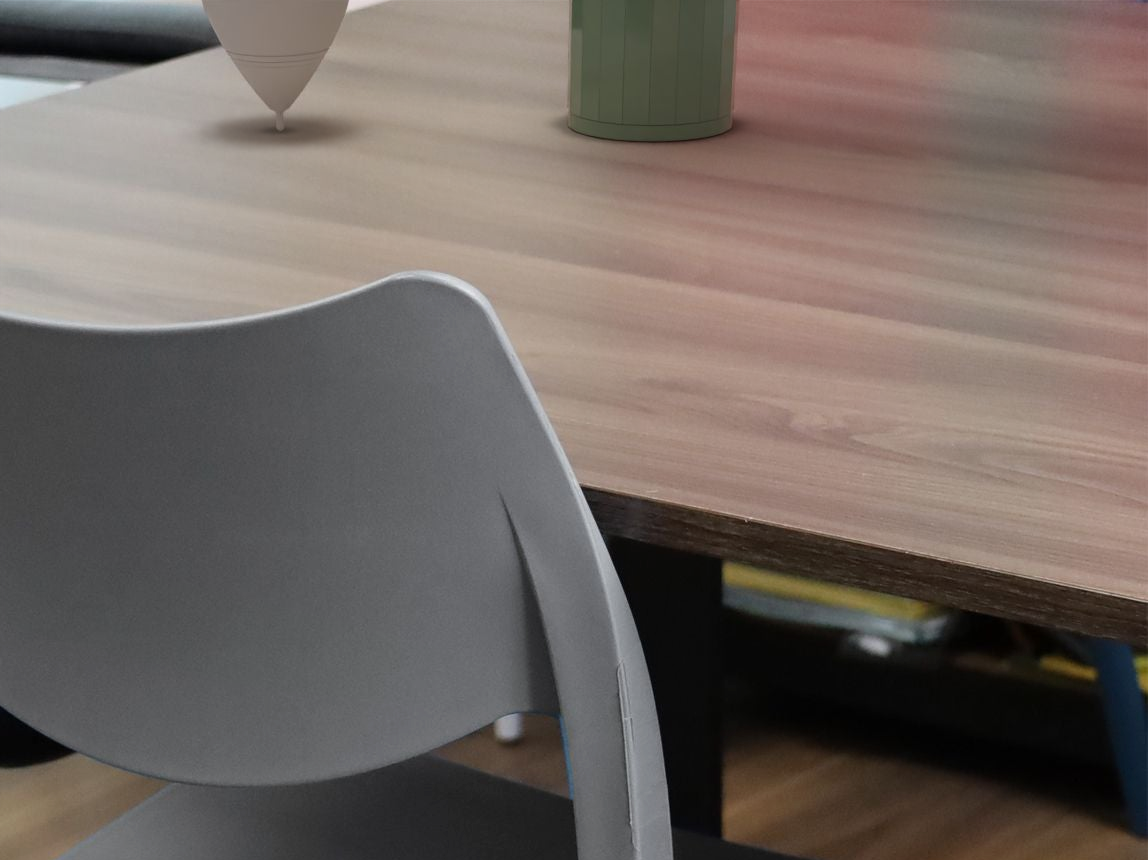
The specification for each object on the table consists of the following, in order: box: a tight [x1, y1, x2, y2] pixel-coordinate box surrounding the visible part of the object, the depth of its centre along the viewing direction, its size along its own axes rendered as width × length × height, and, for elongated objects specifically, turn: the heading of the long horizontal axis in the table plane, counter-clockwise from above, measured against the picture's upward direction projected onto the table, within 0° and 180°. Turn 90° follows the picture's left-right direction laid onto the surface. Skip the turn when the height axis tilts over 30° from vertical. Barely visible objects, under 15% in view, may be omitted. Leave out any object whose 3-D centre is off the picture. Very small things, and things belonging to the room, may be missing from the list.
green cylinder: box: [566, 0, 740, 142], centre depth 120 cm, size 9×9×11 cm
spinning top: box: [201, 0, 350, 132], centre depth 120 cm, size 8×8×12 cm
